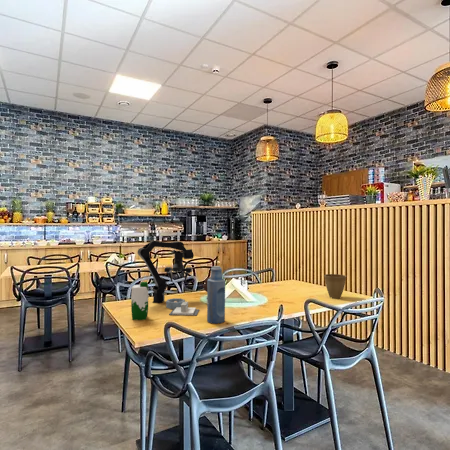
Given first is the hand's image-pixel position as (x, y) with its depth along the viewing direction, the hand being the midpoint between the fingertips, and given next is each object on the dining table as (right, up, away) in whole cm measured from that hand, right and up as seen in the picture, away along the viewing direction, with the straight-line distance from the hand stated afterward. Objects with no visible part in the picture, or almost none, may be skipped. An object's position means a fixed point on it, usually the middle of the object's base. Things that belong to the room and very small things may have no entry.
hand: (178, 282), depth 232 cm
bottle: (+27, -13, -50) cm, 59 cm away
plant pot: (+112, -13, +9) cm, 113 cm away
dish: (+1, -12, -20) cm, 23 cm away
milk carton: (-15, -13, -45) cm, 49 cm away
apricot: (+1, -10, -20) cm, 22 cm away
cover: (+8, -12, -33) cm, 36 cm away
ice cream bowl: (+22, -12, +3) cm, 25 cm away
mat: (+8, -13, -33) cm, 37 cm away
